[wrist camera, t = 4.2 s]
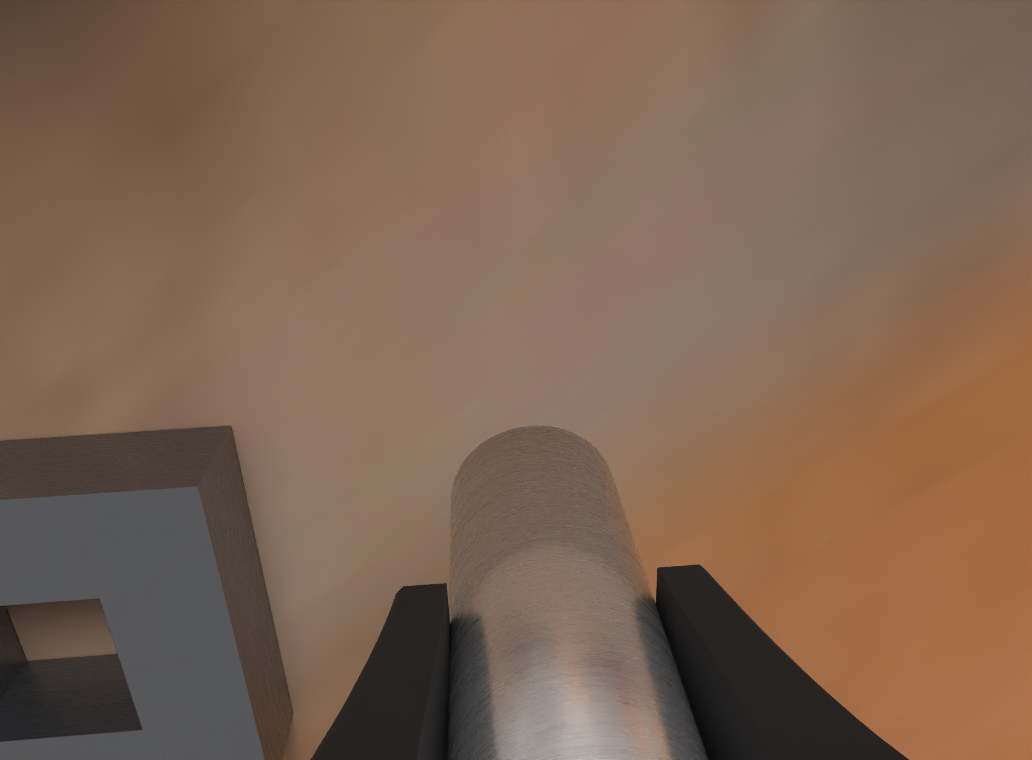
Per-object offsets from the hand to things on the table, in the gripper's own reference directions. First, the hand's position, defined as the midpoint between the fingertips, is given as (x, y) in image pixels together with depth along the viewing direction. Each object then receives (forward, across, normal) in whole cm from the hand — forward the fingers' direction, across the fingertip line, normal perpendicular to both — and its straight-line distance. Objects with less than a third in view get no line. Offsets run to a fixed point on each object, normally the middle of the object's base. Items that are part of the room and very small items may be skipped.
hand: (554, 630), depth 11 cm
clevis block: (+10, +13, +7) cm, 18 cm away
